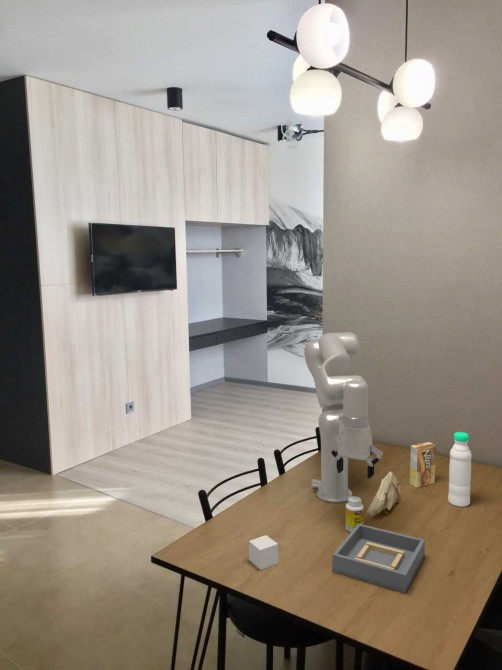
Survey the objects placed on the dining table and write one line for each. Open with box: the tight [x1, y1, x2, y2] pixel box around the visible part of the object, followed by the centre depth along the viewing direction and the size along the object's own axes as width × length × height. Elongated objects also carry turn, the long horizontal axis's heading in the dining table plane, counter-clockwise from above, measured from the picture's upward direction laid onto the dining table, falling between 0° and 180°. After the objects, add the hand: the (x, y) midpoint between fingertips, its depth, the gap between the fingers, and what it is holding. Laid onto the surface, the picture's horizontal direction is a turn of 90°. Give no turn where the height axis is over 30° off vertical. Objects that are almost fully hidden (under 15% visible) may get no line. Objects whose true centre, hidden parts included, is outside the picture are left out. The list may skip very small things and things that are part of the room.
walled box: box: [331, 524, 426, 594], centre depth 154 cm, size 20×20×5 cm
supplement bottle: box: [344, 495, 365, 533], centre depth 173 cm, size 6×6×10 cm
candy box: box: [409, 441, 437, 488], centre depth 205 cm, size 9×4×15 cm, turn 116°
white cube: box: [248, 534, 279, 571], centre depth 156 cm, size 6×6×6 cm
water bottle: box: [447, 431, 473, 508], centre depth 188 cm, size 7×7×25 cm
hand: (355, 474), depth 170 cm, fingers open, 9 cm apart
